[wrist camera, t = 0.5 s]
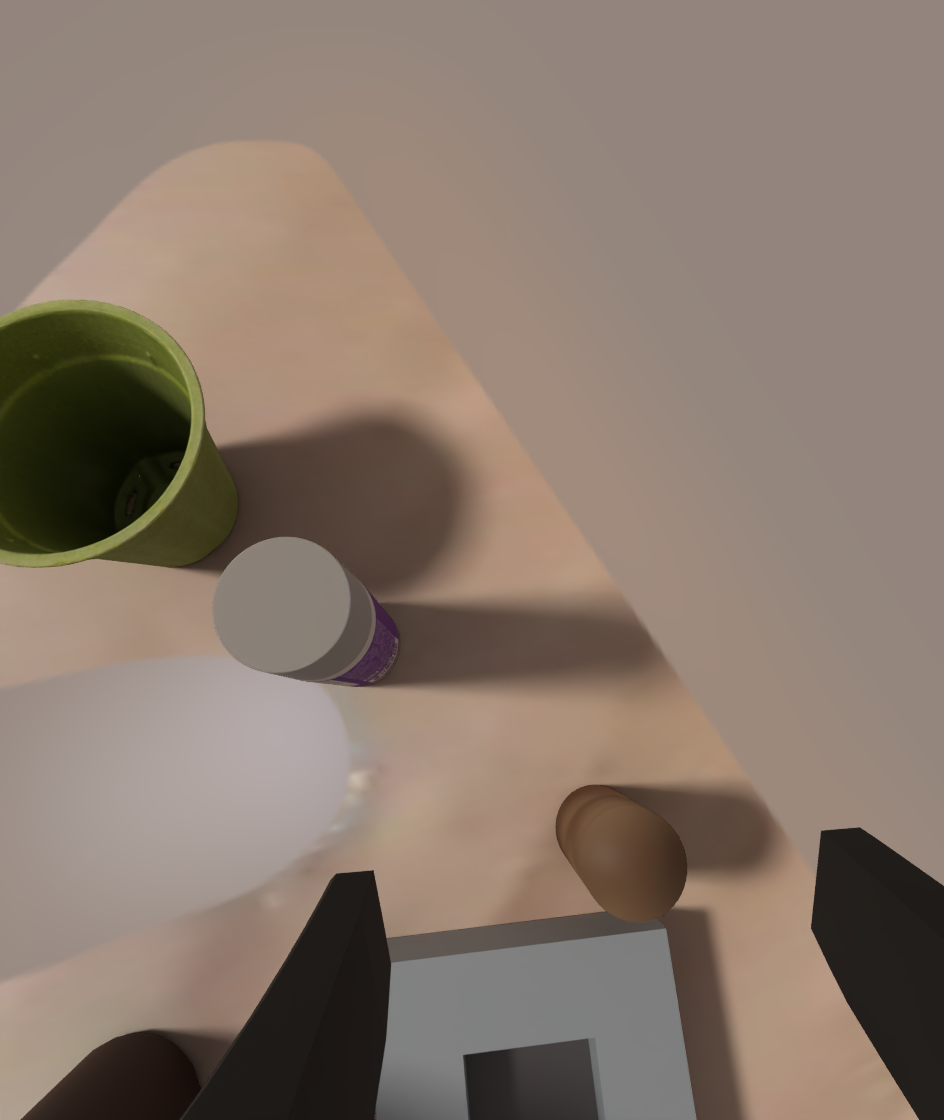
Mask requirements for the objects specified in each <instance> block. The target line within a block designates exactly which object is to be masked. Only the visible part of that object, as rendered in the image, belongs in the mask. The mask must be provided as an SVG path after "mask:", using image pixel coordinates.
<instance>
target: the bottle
mask: <svg viewBox="0 0 944 1120" xmlns="http://www.w3.org/2000/svg"><path fill="white" fill-rule="evenodd" d="M199 1092H200V1085H199V1083H198V1080H197V1077H196V1074H195V1071H194V1069H193V1066H192V1064H191V1063H190V1061H189V1060H188V1059H187V1058H186V1056H185V1055H184V1054H183V1052H182V1051H181V1050H180V1049H179V1047H177V1046H176V1045H174V1044H172V1043H171V1042H169V1041H167V1040H166V1039H164V1038H162V1037H160V1036H156V1035H150V1034H143V1033H135V1034H130V1035H125V1036H120V1037H116V1038H114V1039H112V1040H110V1041H109V1042H107V1043H105V1044H103V1045H101V1046H100V1047H98V1048H96V1049H94V1050H93V1051H92V1052H91V1053H90V1054H89V1055H87V1056H86V1057H85V1058H84V1059H83V1060H82V1061H81V1062H80V1063H79V1064H78V1065H77V1066H76V1067H75V1068H74V1069H73V1070H72V1071H71V1072H70V1073H69V1074H68V1075H67V1076H66V1077H65V1078H63V1079H62V1080H61V1081H60V1082H59V1083H58V1084H57V1085H56V1086H55V1087H54V1088H53V1089H52V1090H51V1091H50V1092H49V1093H48V1094H47V1095H46V1096H45V1097H44V1098H43V1099H42V1100H41V1101H40V1102H38V1103H37V1104H36V1105H35V1106H34V1107H33V1108H32V1109H31V1110H30V1111H29V1112H28V1113H27V1114H26V1115H25V1116H24V1117H23V1118H22V1119H21V1120H180V1118H181V1117H182V1116H183V1114H184V1113H185V1111H186V1110H187V1109H188V1107H189V1106H190V1104H191V1103H192V1102H193V1100H194V1099H195V1097H196V1096H197V1095H198V1093H199Z"/></svg>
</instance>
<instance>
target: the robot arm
mask: <svg viewBox="0 0 944 1120" xmlns="http://www.w3.org/2000/svg"><path fill="white" fill-rule="evenodd" d="M811 929H812V931H813V933H814V935H815V938H816V940H817V942H818V944H819V946H820V948H821V950H822V952H823V955H824V957H825V959H826V961H827V963H828V965H829V967H830V969H831V971H832V973H833V975H834V977H835V979H836V981H837V983H838V985H839V987H840V989H841V991H842V993H843V995H844V997H845V999H846V1001H847V1003H848V1005H849V1006H850V1008H851V1010H852V1011H853V1013H854V1015H855V1016H856V1018H857V1020H858V1021H859V1023H860V1024H861V1026H862V1028H863V1029H864V1031H865V1033H866V1034H867V1036H868V1038H869V1039H870V1041H871V1042H872V1044H873V1046H874V1047H875V1049H876V1051H877V1052H878V1054H879V1056H880V1057H881V1059H882V1060H883V1062H884V1064H885V1065H886V1067H887V1069H888V1070H889V1072H890V1073H891V1075H892V1077H893V1078H894V1080H895V1081H896V1083H897V1085H898V1086H899V1088H900V1090H901V1091H902V1093H903V1094H904V1096H905V1098H906V1099H907V1101H908V1102H909V1104H910V1106H911V1107H912V1109H913V1110H914V1112H915V1114H916V1115H917V1117H918V1119H919V1120H944V886H943V885H942V884H940V883H939V882H937V881H936V880H934V879H933V878H932V877H930V876H929V875H927V874H926V873H925V872H923V871H922V870H920V869H919V868H918V867H916V866H915V865H913V864H912V863H910V862H909V861H908V860H906V859H905V858H903V857H902V856H901V855H899V854H898V853H896V852H895V851H893V850H892V849H890V848H889V847H888V846H886V845H885V844H883V843H882V842H881V841H879V840H878V839H876V838H875V837H873V836H872V835H870V834H869V833H867V832H866V831H864V830H863V829H861V828H848V829H836V830H825V831H821V839H820V848H819V857H818V867H817V876H816V885H815V895H814V905H813V914H812V924H811ZM390 977H391V960H390V955H389V949H388V944H387V939H386V933H385V928H384V923H383V918H382V912H381V907H380V902H379V897H378V891H377V886H376V881H375V876H374V870H373V871H362V872H350V873H339V874H336V875H335V876H334V877H333V878H332V879H331V880H330V882H329V884H328V886H327V888H326V890H325V891H324V893H323V895H322V897H321V899H320V901H319V902H318V904H317V906H316V908H315V910H314V912H313V913H312V915H311V917H310V919H309V920H308V922H307V924H306V926H305V928H304V929H303V931H302V933H301V934H300V936H299V938H298V940H297V941H296V943H295V945H294V946H293V948H292V950H291V952H290V953H289V955H288V957H287V958H286V960H285V962H284V963H283V965H282V967H281V968H280V970H279V971H278V973H277V975H276V976H275V978H274V980H273V981H272V983H271V984H270V986H269V988H268V989H267V991H266V992H265V994H264V996H263V997H262V999H261V1001H260V1002H259V1004H258V1005H257V1007H256V1009H255V1010H254V1012H253V1013H252V1015H251V1016H250V1018H249V1020H248V1021H247V1023H246V1024H245V1026H244V1027H243V1029H242V1030H241V1032H240V1033H239V1035H238V1036H237V1037H236V1039H235V1040H234V1042H233V1043H232V1045H231V1046H230V1048H229V1049H228V1051H227V1052H226V1054H225V1055H224V1057H223V1058H222V1060H221V1061H220V1063H219V1064H218V1066H217V1067H216V1069H215V1070H214V1071H213V1073H212V1074H211V1076H210V1077H209V1079H208V1080H207V1082H206V1083H205V1085H204V1086H203V1088H202V1089H201V1090H200V1092H199V1093H198V1095H197V1096H196V1097H195V1099H194V1100H193V1102H192V1103H191V1104H190V1106H189V1107H188V1109H187V1110H186V1111H185V1113H184V1114H183V1116H182V1117H181V1118H180V1120H374V1114H375V1108H376V1102H377V1095H378V1089H379V1083H380V1076H381V1070H382V1064H383V1057H384V1051H385V1044H386V1035H387V1022H388V1008H389V993H390Z"/></svg>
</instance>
